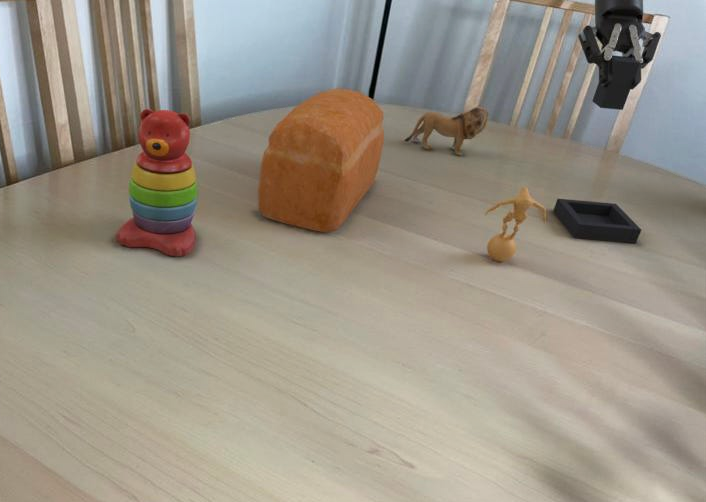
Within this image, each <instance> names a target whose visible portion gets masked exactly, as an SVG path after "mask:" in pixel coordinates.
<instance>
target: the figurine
mask: <svg viewBox="0 0 706 502" xmlns="http://www.w3.org/2000/svg"><path fill="white" fill-rule="evenodd" d="M511 204H513V212H512V211H510V210H509V211H507V213H506V215H505V216H504V217H503V218H502V228H501V229H502V232H501V233H498V234H495V235H493V236H492V237H491V238H490V239H489V241H488V243H487V245H486V250H487V254H488V256H489V257H490V258H491V259H492V260H494V261H496V262H508V261H509V260H511V259H512V258H513V257H514V255H515V254H516V252H517V243H516V240H515V237H516V235H517V233H518V232H519V230H520V226H519V225H520V224H522V223H524V222H525V220H527V217H528V214H527V213H526V212H527V211H528V210H529V209H530V208H531V207H534V208H537V209H538V210H541V216H542V217H540V219H541V220H540V221H541V222H542V223H543V224H545V222H546V220H547V213H546V211H547V210H546V209H547V208H545V206H544V205H543V204H541V203H539V202H538V201H536V199H534V198H532V196H531V195H530V191H529V189H528V187H522V189H521V190H520V192H519V194H518V195H517V196H515V197H512V198H510V199H509V198H508V199H505V200H502V201H500V202H497V203H496V204H495V205H493V206H491V207H490V208H488V209H487V211H485V213H484V216H486V215H488V213H490V212H493V211H495V210H496V209H497V208H499V207H500V206H506V205H511ZM513 220H514V221H515V224H514V227H513V232H512V233H511V234H507V231H508V224H507V223H510V222H512V221H513Z"/></svg>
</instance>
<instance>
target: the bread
mask: <svg viewBox="0 0 706 502" xmlns="http://www.w3.org/2000/svg"><path fill="white" fill-rule="evenodd" d="M384 117H385V116H384V112H383V111H382V109H381V108H380V107H379V105H378V104H377V103H376V102H375V100H374V99H373V98H371V97H369V96H368V95H365V94H364V93H362V92H361V91H358V90H354V89H344V88H334V89H333V88H332V89H329V90H324V91H321V92H318V93H316V94H314V95H313V96H311V97H309V98H307V99H306V100H304V101H302V102H301V103H299V104H298V105H297V106H295V107H294V108H293V109H291V111H290V112H289V113H288V114H287V115H286V116H285V117H283V119H281V120H280V121H279V122H278V123H277V124H276V125H275V126H274V128H273V130H272V131H271V133H270V135H269V137H268V146H267V147H266V149H265V150H264V151H263V156H262V160H261V164H260V170H259V171H260V172H259V181H258V189H257V193H258V195H257V196H258V197H257V199H258V200H257V201H258V202H257V203H258V205H257V207H258V211H259V213H260V214H261V216H262V217H264V218H266V219H269V220H273V221H275V222H279V223H283V224H287V225H290V226H294V227H299V228H302V229H307V230H311V231H312V230H313V231H316V232H321V233H326V232H332V231H336V230H338V228H339V227H341V225H343V224H344V223H345V221H346V220H347V219H348V217H350V214H352V212H353V211H354V209H355V208H356V206H357V205H358V204H359V203H360V201H361V200H362V199H363V197H365V195H366V193H367V192H369V190H370V189H371V187H372V185H373V184H374V183H375V180H376V177H377V174H378V172H379V171H378V170H379V166H380V162H381V158H382V157H381V156H382V152H383V147H384V144H385V143H384V142H385V132H384V129H383V128H384V127H383V123H384Z"/></svg>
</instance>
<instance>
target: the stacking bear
mask: <svg viewBox="0 0 706 502" xmlns="http://www.w3.org/2000/svg"><path fill="white" fill-rule="evenodd" d="M139 116H140V120H141V123H140V126H139V130H138V141H139V144H140V147H141V149H142V152H140V154H139V155H137V157H136V160H135V161H134V163H133V167H132V171H131V177H130V180H129V187H128V193H129V194H128V198H129V204H130V209H131V211H132V218H130V219H129V220H127V221H126V222H125V223H123V225H121V226H120V227H119V229H118V230H117V232H116V237H115V239H116V241H117V242H118V244H120V245H121V246H125V247H128V248H150V249H154V250H158V251H160V252H161V253H163V254H164V255H167V256H172V257H184V256H187V255H189V254H190V253H192V250H193V249H194V247H195V245H196V231H195V228H194V226H193V224H192V222H193V220H194V216H195V211H196V208H197V203H198V195H199V192H198V191H199V190H198V182H197V179H196V171H195V167H194V165H193V162H192V158H190V156H189V154H188V153H186V151H187V149H188V146H189V143H190V137H191V132H190V124H191V119H190V116H189V115H188V114H187V113H185V112H179V113H178V112H175V111H172V110H167V109H161V110H160V109H159V110H156V111H155V110H152V109H150V108H145V109H143V110H142V111H141V112H140V115H139Z"/></svg>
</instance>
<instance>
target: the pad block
mask: <svg viewBox="0 0 706 502" xmlns="http://www.w3.org/2000/svg"><path fill="white" fill-rule="evenodd" d="M610 62H612V82H611V83H610V84H609V85H608V86H607V87H602V83H600V82H599V81H598V83H597V86H596V89H595V92H594V95H593V98H592V101H591V102H593V104H595V105H596V106H597V107H599V108H600V109H609V110H621V111H624V108H625V105H626V102H627V100H628V98H629V94H630V93H631V92H630V91H631V90H632V89H631V86H632V84H633V81H634V78H635V76H636V73H637V71H638V68H639V65H640V62H638V61H636V60H635V59H633V58H631V57H625V56H622V55H613V54H612V57H611V60H610Z"/></svg>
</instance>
